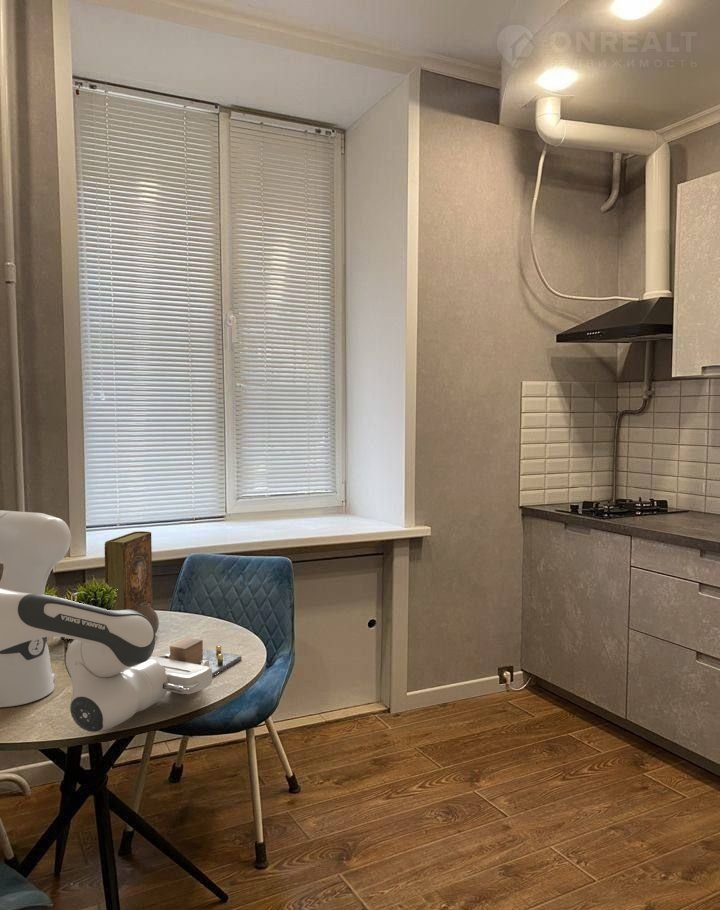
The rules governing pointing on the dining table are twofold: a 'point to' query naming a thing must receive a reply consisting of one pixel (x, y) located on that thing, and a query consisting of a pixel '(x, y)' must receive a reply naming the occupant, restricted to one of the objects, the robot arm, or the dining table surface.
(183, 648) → the board block
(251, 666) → the dining table surface
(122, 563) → the book
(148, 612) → the vase
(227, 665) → the pin plate
